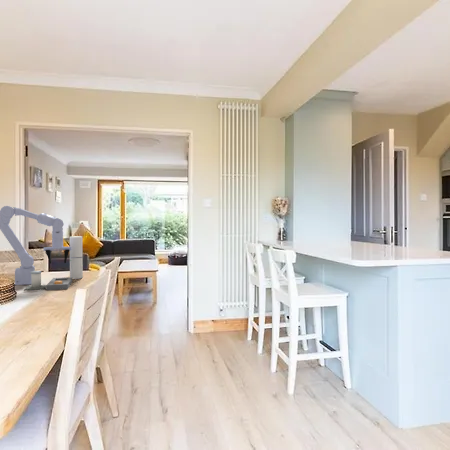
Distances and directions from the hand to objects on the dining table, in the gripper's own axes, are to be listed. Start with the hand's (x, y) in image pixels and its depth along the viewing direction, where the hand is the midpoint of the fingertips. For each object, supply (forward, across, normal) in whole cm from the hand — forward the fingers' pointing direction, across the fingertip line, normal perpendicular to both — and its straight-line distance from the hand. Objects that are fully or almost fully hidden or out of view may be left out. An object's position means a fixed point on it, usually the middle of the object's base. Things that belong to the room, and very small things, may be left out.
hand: (57, 263), depth 207 cm
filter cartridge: (+10, -8, -18) cm, 22 cm away
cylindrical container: (+11, +9, +9) cm, 17 cm away
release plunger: (+10, +3, -21) cm, 23 cm away
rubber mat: (+10, -8, -18) cm, 22 cm away
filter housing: (+10, +3, -14) cm, 18 cm away
